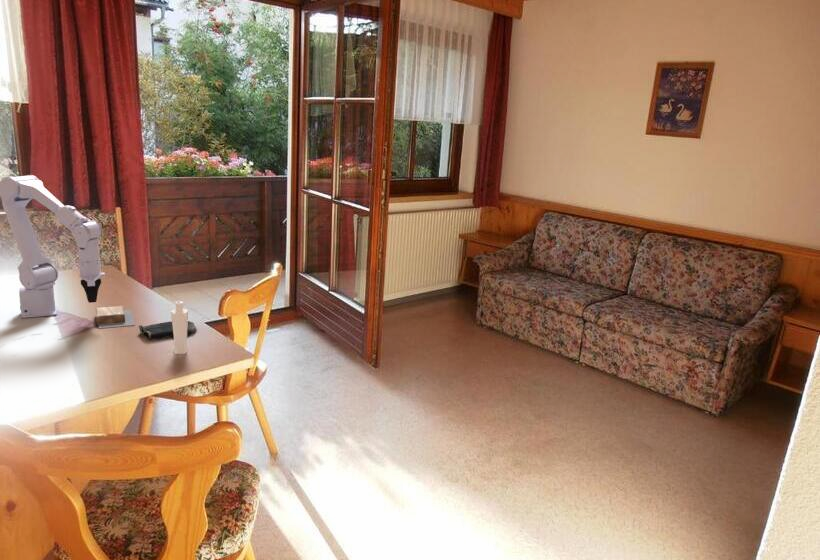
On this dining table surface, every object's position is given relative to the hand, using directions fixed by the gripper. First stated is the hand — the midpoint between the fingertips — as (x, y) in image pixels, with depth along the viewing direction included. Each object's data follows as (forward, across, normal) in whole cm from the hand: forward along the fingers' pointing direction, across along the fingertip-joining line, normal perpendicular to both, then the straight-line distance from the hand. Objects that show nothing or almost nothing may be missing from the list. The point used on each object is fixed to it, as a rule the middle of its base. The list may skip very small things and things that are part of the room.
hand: (92, 301), depth 181 cm
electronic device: (+7, -18, -20) cm, 28 cm away
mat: (+6, 0, -6) cm, 9 cm away
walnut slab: (+5, 0, -1) cm, 5 cm away
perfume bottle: (+6, -34, -21) cm, 41 cm away
